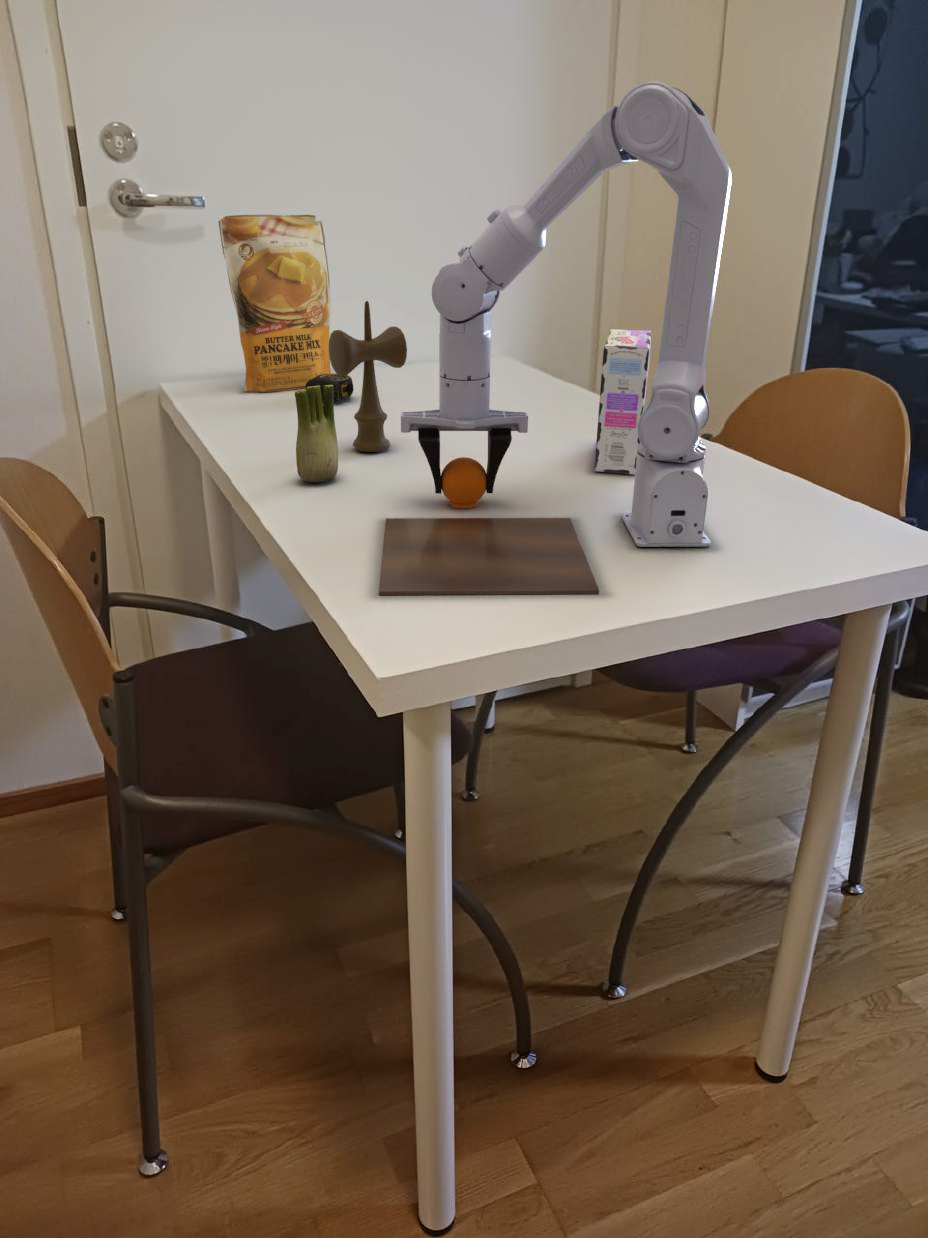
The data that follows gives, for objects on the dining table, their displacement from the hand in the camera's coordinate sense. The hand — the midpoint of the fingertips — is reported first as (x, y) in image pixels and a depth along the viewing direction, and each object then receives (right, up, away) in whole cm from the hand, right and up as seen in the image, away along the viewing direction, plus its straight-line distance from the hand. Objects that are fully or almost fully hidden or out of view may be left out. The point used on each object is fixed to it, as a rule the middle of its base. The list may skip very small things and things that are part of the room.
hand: (463, 490), depth 114 cm
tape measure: (-22, +21, +47) cm, 56 cm away
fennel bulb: (-18, +2, +8) cm, 20 cm away
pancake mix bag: (-31, +26, +56) cm, 69 cm away
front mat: (+2, -8, -14) cm, 16 cm away
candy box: (+21, +6, +18) cm, 28 cm away
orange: (0, -1, +1) cm, 2 cm away
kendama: (-13, +8, +21) cm, 26 cm away
